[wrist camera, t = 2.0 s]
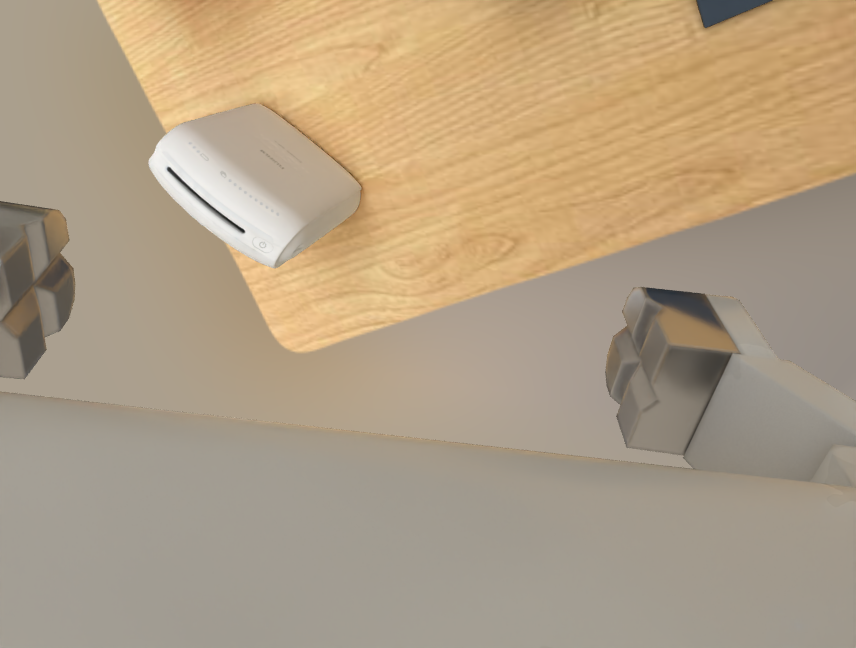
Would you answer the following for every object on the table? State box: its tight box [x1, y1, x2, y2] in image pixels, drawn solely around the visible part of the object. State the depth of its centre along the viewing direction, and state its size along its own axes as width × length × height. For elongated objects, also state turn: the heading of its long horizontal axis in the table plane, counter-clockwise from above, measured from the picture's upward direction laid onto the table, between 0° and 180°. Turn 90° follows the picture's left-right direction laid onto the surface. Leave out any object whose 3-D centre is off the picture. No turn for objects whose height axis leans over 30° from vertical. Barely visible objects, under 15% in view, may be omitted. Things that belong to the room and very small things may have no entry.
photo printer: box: [149, 103, 362, 268], centre depth 46 cm, size 10×4×12 cm, turn 53°
